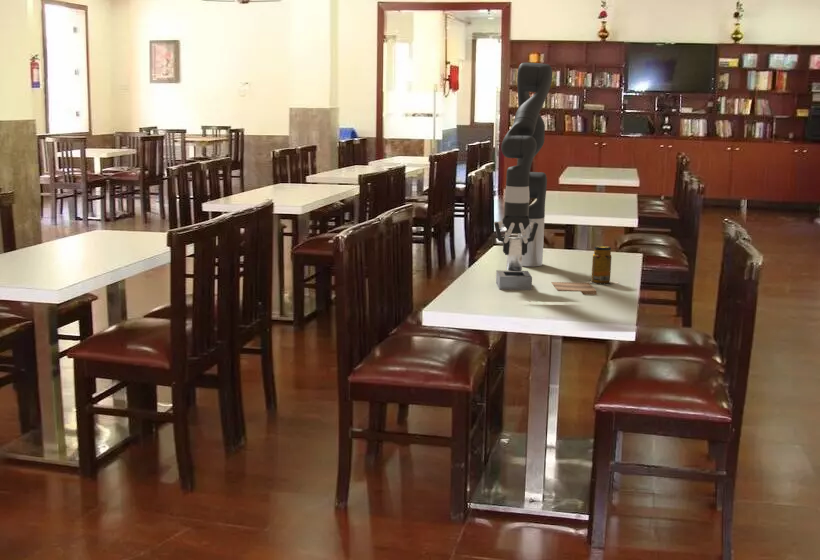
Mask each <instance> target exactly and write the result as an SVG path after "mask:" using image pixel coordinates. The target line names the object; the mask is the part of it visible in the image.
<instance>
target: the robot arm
mask: <svg viewBox="0 0 820 560" xmlns="http://www.w3.org/2000/svg"><path fill="white" fill-rule="evenodd" d="M516 73H517V74H516V76H517V77H516V84H517V87H516V88H517V101H518V103H517V104H518V106H517V107H518V109H517V110H516V112H515V115H514V119H513V123H512V126H510V129H509V130H508V131H507V132H506V133H505V135H504V137H503V140H502V141H501V146H500V147H501V153H502V155H503V156H504V157H505V158H506V159H507V158H508V159H516V160H517V161H516V163H517V164H516V165H513V166H509V167H507V169H506V177H505V179H506V181H505V192H504V207H503V208H504V211H503V212H504V213H503V218H502V220H501V221H500V220H499V221H494V222H493V225H494V229H495V234H496V238H497V240H498V242H502V252H503V254H504V255H505V256H507V255H508V239H509V237H511V235H512V234H517V237H521V238H523V256H522V267H542V266H543V257H544V241H545V240H544V238H545V237H544V236H545V217H546V216H545V215H546V214H545V211H546V197H547V187H548V177H547V174H546V173H545V172H543V171H541V172H540V171H539V172H538V171H531V168H532V164H533V160H534V158H535V156H537V154H538V153H539V152H540V151H541V149H542V148H543V146H544V144H545V136H546V135H545V134H546V133H545V132H546V131H545V129H546V126H545V122H544V119H543V118H542V116H541V114H540V112H541V110H542V108H543V106H544V104H545V102H546V100H547V99H546V98H547V97H548V94H549V92H550V89H551V87H552V83H553V82H552V81H553V68H552V66H551V65H550V64H548V63H543V62H542V63H540V62H539V63H538V62H521V63H520V64H519V65H518V68H517V72H516ZM529 92H531V93H534V94H533V95H532V96H530V93H529ZM530 199H536V201H535V202H534V203H532V204H530ZM503 226H504V227H505V228H506V230H505V233H504V235H503V237H502V233H501V229H502V227H503Z"/></svg>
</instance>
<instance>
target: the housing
mask: <svg viewBox="0 0 820 560" xmlns="http://www.w3.org/2000/svg"><path fill="white" fill-rule="evenodd" d="M495 274H496V275H495V284H496V286H497V288H498V290H503V291H504V290H510V291H511V290H514V291H515V290H517V291H526V290H527V291H532V288H533V276H532V275H531V273H530V272H529V270H521V271H509V270H501V269H500V270H496V272H495Z"/></svg>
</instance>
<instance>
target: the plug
mask: <svg viewBox="0 0 820 560" xmlns="http://www.w3.org/2000/svg"><path fill="white" fill-rule="evenodd" d="M522 256H523V238H521V237H518V236H510V237H509V239H508V255H506V271H523V266H522Z"/></svg>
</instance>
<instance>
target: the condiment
mask: <svg viewBox="0 0 820 560" xmlns="http://www.w3.org/2000/svg"><path fill="white" fill-rule="evenodd" d="M611 253H612V247H611V246H609V245H595V246H594V253H593V254H592V262H591V263H592V267H591V280H590V281H587V283H589V284H595V285H604V286H614V285H617V284H619V283H620V282H619V281H615V280H614V281H613V280H611V273H612V272H611V271H612V254H611Z"/></svg>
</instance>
